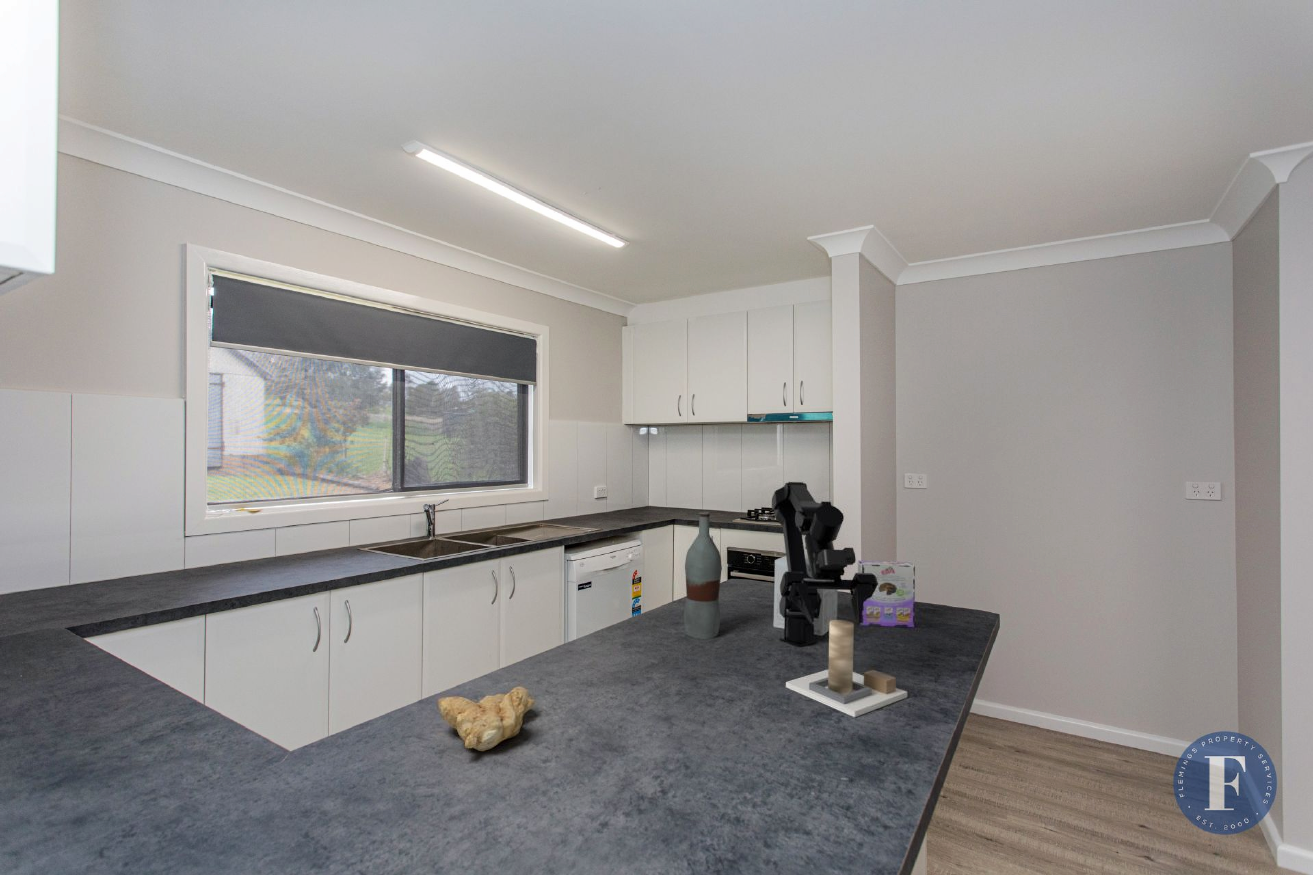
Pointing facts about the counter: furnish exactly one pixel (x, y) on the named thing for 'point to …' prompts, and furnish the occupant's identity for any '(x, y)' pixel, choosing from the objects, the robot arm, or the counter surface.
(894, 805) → the counter surface
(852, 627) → the wooden column
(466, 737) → the ginger root
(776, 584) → the supplement box
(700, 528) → the bottle
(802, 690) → the plate
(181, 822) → the counter surface
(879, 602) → the candy box
